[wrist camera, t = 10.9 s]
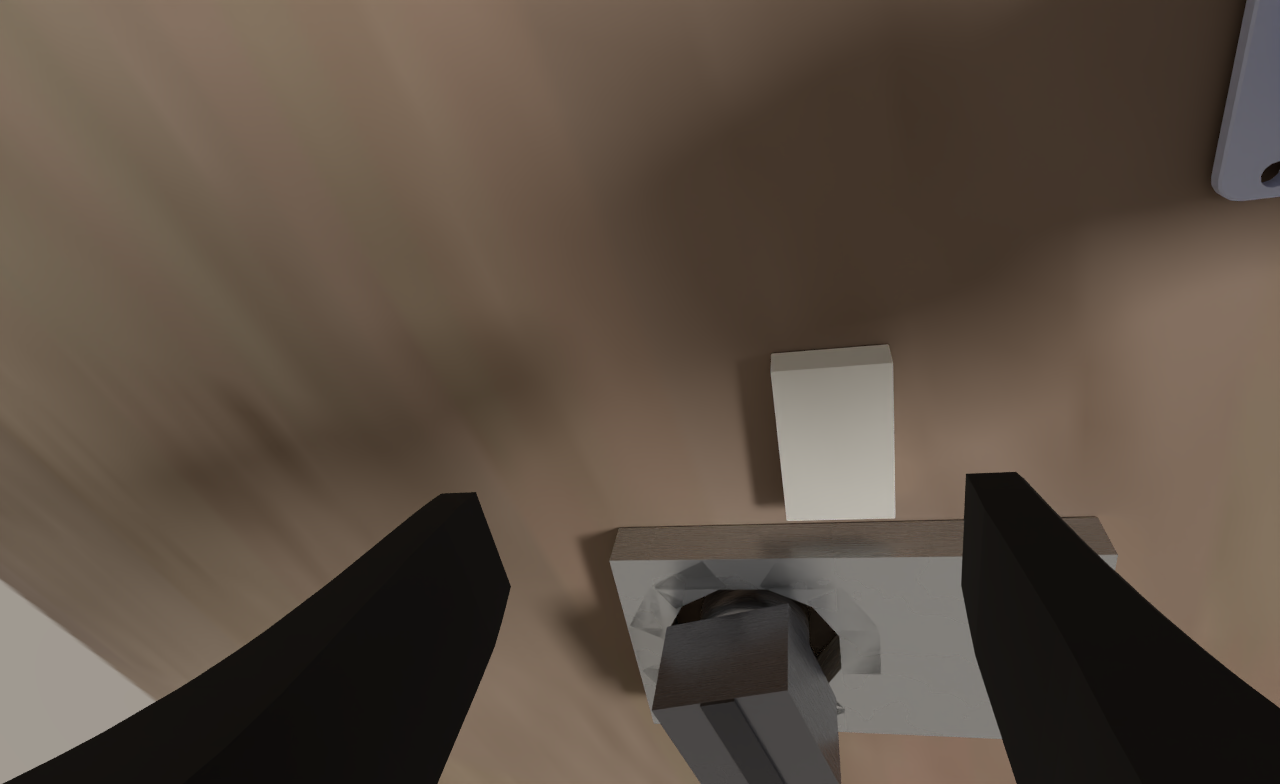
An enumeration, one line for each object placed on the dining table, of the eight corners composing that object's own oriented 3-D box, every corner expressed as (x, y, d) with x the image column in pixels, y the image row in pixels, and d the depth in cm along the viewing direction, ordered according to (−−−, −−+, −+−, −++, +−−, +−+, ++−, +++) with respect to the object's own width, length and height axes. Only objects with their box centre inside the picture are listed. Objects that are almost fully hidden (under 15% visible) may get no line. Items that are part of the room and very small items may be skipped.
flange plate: (1097, 517, 20) (1120, 560, 19) (1067, 701, 24) (1085, 748, 23) (618, 528, 24) (607, 565, 22) (660, 687, 28) (652, 728, 26)
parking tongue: (888, 344, 19) (893, 362, 18) (891, 495, 21) (895, 518, 20) (771, 353, 20) (770, 371, 19) (786, 498, 22) (786, 520, 21)
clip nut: (788, 555, 23) (787, 693, 19) (833, 647, 25) (841, 792, 21) (675, 580, 25) (651, 713, 20) (725, 665, 26) (712, 804, 22)
